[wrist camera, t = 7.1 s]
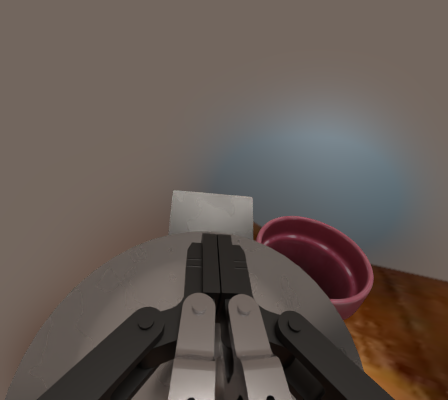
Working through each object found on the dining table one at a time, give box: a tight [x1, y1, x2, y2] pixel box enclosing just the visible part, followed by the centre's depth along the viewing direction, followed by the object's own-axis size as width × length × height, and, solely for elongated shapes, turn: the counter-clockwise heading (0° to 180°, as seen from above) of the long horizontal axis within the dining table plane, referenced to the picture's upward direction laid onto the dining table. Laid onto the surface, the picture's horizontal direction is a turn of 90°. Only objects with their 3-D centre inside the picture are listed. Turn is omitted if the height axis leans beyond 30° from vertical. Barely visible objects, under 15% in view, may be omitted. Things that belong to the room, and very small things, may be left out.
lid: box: [5, 190, 364, 400], centre depth 13 cm, size 20×17×2 cm
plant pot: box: [256, 216, 373, 320], centre depth 34 cm, size 14×14×13 cm
